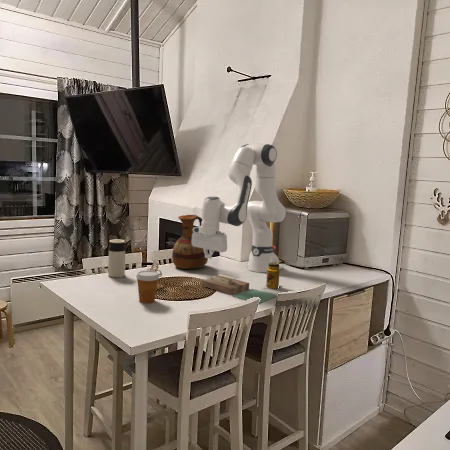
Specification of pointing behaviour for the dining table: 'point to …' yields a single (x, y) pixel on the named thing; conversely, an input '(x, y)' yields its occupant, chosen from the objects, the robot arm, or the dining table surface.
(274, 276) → the condiment
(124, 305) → the dining table surface
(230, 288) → the board
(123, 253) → the travel mug
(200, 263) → the ceramic pitcher
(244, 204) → the robot arm
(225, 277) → the tile
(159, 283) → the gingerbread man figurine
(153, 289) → the disposable coffee cup
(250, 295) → the mat
